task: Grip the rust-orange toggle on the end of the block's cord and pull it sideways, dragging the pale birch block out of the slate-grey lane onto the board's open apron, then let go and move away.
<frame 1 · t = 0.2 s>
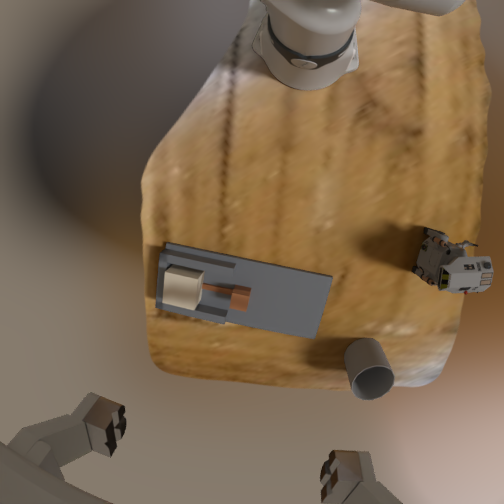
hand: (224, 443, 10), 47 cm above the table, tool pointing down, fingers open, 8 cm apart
lane: (216, 285, 60), on the table
cup: (363, 354, 61), on the table
figurine: (435, 253, 54), on the table
block: (187, 281, 59), point 1 cm above the table, touching lane
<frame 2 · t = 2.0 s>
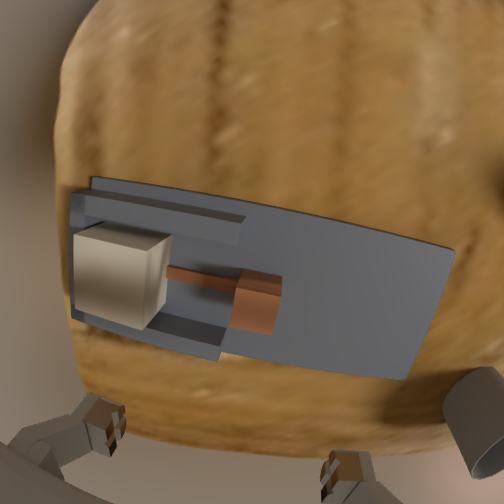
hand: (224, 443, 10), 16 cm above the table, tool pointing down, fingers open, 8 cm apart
lane: (200, 272, 26), on the table
cup: (471, 394, 27), on the table
block: (135, 262, 26), point 1 cm above the table, touching lane
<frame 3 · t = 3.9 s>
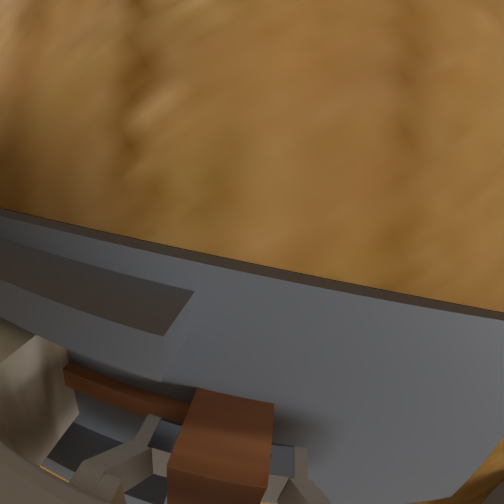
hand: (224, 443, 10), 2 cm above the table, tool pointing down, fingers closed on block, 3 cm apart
lane: (126, 376, 13), on the table
block: (25, 348, 12), point 1 cm above the table, touching gripper, lane
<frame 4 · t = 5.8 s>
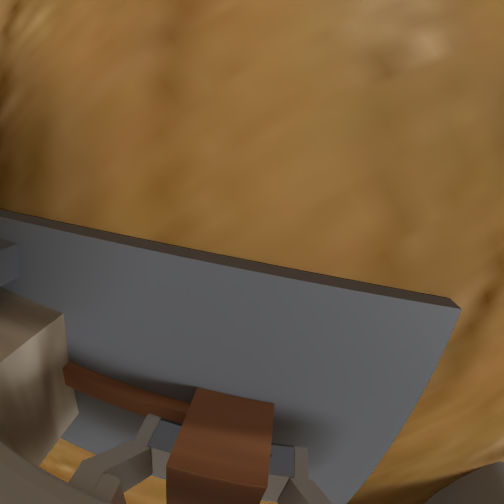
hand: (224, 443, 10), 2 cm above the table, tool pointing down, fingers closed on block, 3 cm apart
lane: (6, 324, 13), on the table
cup: (463, 493, 14), on the table
block: (25, 348, 12), point 1 cm above the table, touching gripper, lane
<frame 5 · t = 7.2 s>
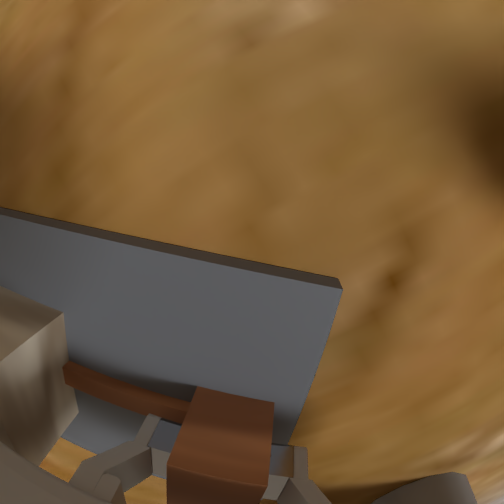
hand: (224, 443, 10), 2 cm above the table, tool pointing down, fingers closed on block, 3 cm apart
cup: (414, 503, 15), on the table
block: (25, 347, 12), point 1 cm above the table, touching gripper, lane
when the fingers open (2 cm above the table, at t = 7.7 s): block stays where it is, resting on lane.
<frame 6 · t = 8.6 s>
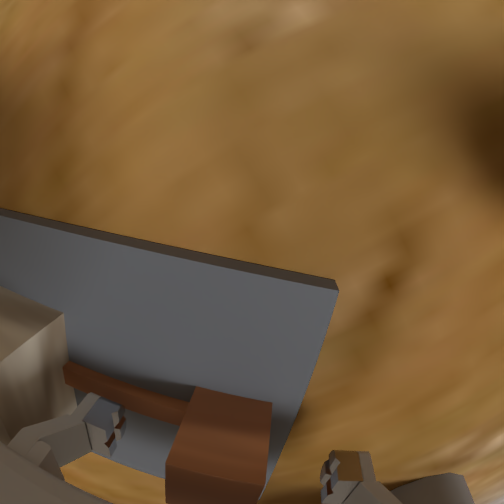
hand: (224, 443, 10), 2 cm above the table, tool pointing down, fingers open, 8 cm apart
cup: (411, 503, 15), on the table
block: (25, 347, 12), point 1 cm above the table, touching lane
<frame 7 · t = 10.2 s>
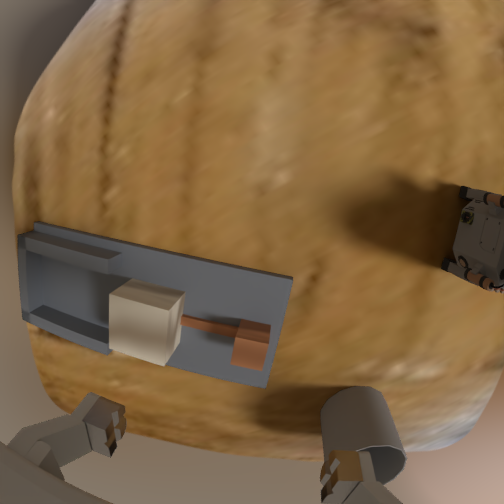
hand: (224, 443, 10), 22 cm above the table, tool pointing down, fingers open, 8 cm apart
lane: (101, 291, 34), on the table
cup: (353, 411, 34), on the table
figurine: (478, 235, 28), on the table
block: (155, 311, 32), point 1 cm above the table, touching lane
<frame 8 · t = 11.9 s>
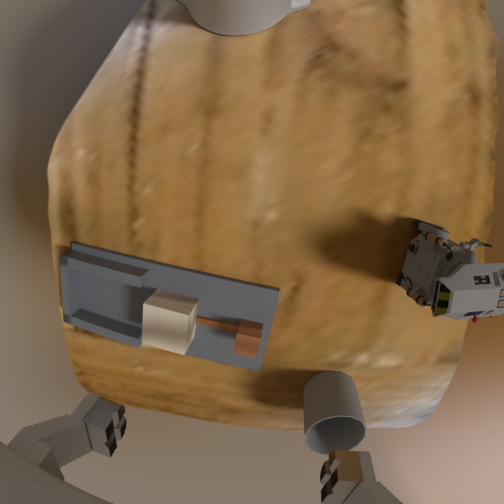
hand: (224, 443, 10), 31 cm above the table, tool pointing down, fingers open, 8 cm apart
lane: (131, 297, 44), on the table
cup: (329, 390, 46), on the table
figurine: (430, 256, 39), on the table
block: (176, 313, 43), point 1 cm above the table, touching lane
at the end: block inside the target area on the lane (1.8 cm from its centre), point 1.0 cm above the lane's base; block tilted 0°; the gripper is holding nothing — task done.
